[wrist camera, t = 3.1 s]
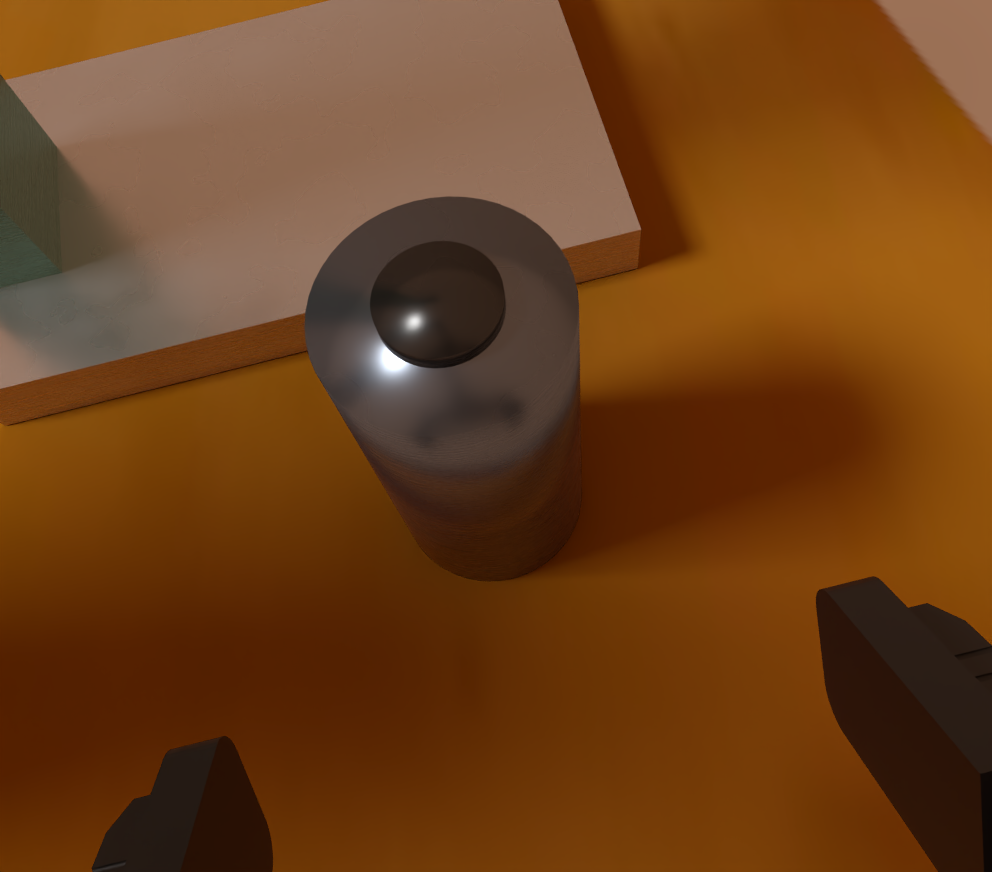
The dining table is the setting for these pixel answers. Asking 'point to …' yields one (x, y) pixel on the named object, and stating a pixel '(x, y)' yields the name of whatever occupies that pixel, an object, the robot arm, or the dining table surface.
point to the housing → (458, 377)
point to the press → (272, 180)
